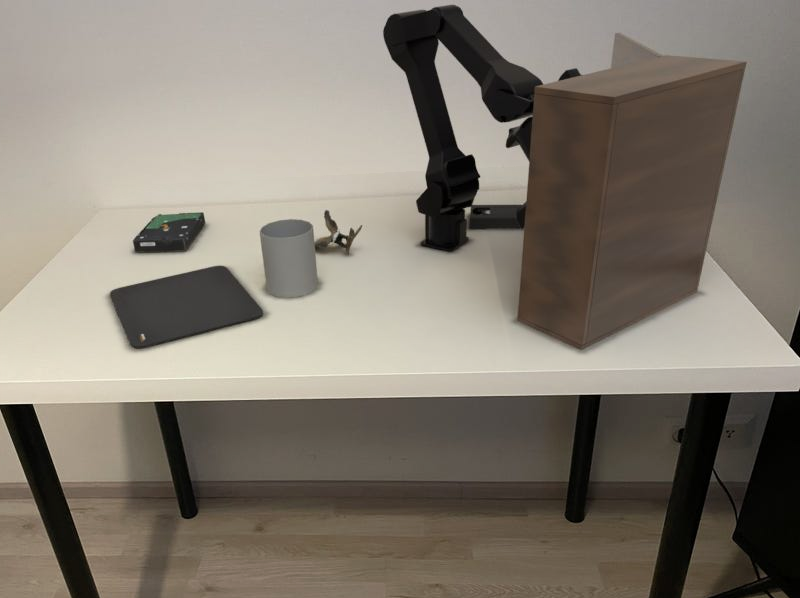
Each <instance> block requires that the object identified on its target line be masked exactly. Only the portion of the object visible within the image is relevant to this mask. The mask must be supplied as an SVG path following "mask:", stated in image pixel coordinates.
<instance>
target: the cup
mask: <svg viewBox="0 0 800 598" xmlns="http://www.w3.org/2000/svg"><path fill="white" fill-rule="evenodd" d="M259 238H260V246H261V254H262V262H263V269H264V270H263V271H264V279H265V287H266V291H267V292H268V293H269V295H271V296H274V297H277V298H286V299H290V298H292V299H293V298H299V297H303V296H306V295H309V294H312V292H314V291H315V290H317V289H318V288H317V287H318V286H319V279H318V267H317V256H316V247H315V243H314V242H315V232H314V225H313V224H312V223H311V222H310V221H308V220H305V219H304V220H303V219H297V218H296V219H293V218H290V219H289V218H288V219H279V220H276V221H272V222H268V223H266V224H265V225H263V226H261V228H260V229H259Z"/></svg>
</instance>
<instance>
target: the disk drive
mask: <svg viewBox="0 0 800 598" xmlns="http://www.w3.org/2000/svg"><path fill="white" fill-rule="evenodd" d="M205 224H206V219H205V213H204V212H201V211H200V212H179V213H171V214H169V213H168V214H162V213H158V214H157V215H155V216H153V217H152V218H151V220H150V221H149V222H147V224H146V225H145V226H144V227H143V228H142V229H141V230H140V231H139V233H137V235H136V236H135V237H134V238H133V239H132V244H133V249H134V252H139V253H160V252H161V253H162V252H180V251H181V252H183V251H187V250H188V249H189V248H190V246H191V244H192V243H193V242H194V240H196V238H197V236H198V235H199V233H200V232H201V231H202V229H203V228H204V226H205Z"/></svg>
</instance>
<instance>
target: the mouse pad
mask: <svg viewBox="0 0 800 598" xmlns="http://www.w3.org/2000/svg"><path fill="white" fill-rule="evenodd" d="M109 295H110V298H111V301H112V304H113V306H114V308H115V311H116V313H117V315H118V317H119V320H120V322H121V325H122V328H123V329H124V332H125V335H126V337H127V339H128V342H129V344H130V346H131V347H132V348H136V349H141V348H148V347H152V346H155V345H158V344H163V343H168V342H170V341H175V340H178V339H183V338H186V337H187V338H188V337H189V336H190V337H191V336H194V335H198V334H202V333H206V332H210V331H214V330H217V329H221V328H225V327H230V326H233V325H237V324H241V323H245V322H249V321H253V320H257V319H259V318H261V317H263V315H264V310H263V309H262V307H261V306H260V305H259V304H258V303H257V301H256V300H255V299H254V298H253V296H251V294H250V293H249V292H248V291H247V289H245V287H244V286H243V285H242V284H241V283H240V282H239V280H238V279H237V278H236V277H235V276H234V274H233V273H232V271H230V270H229V268H228V267H226V266H224V265H214V266H209V267H205V268H201V269H196V270H191V271H188V272H182V273H178V274H174V275H169V276H165V277H159V278H156V279H151V280H147V281H144V282H143V281H142V282H138V283H135V284H130V285H126V286H121V287H118V288H114V289H112V290H111V291H110V293H109Z"/></svg>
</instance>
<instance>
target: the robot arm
mask: <svg viewBox="0 0 800 598" xmlns="http://www.w3.org/2000/svg"><path fill="white" fill-rule="evenodd" d="M382 37H383V40H384V43H385V46H386V48H387V50H388V53H389V55H390V58H391V60H392V61H393V62H394V63H395V64H396V65H397V66H398V67H399V68H400V69H401V70H402V71H403V72H404V74H405V76H406V80H407V84H408V88H409V90H410V94H411V98H412V101H413V105H414V108H415V112H416V115H417V119H418V122H419V126H420V129H421V132H422V137H423V140H424V144H425V147H426V150H427V155H428V162H427V168H426V171H425V185H426V188H425V190H424V191H423V192H422V193H421V194H420V195H419V196H418V198H417V199H415V204H416V208H417V212H418V213H419V214H422V215H424V239H423V240H421V241H420V243H419V244H420V246H422V247H428V248H433V249H436V250H442V251H445V252H446V251H447V252H453V251H454V250H456V249H458V248H459V247H460V246H462V245H463V244H465V243H466V242H468V241H470V240H469V239H470V237H469V236H468V234H467V233H468V219H467V217H466V209H467V208H471V207H472V205H474V204H473V203H474V201H475V198H476V196H477V194H478V191H479V190H480V180H479V179H481V175H480V173H479V171H478V168H477V163H476V158H475V156H474V155H473V154H468V155H466V154H465V153H464V152H463V151H462V150H461V149H460V148H459V146H458V142H457V140H456V136H455V132H454V128H453V124H452V121H451V118H450V114H449V110H448V107H447V102H446V99H445V95H444V92H443V88H442V84H441V81H440V78H439V72H438V70H437V66H436V57H437V53H438V49H439V45H440V43H441V44H442V45H443V47H445V48H446V50H447V51H448V52H449V53H450V54H451V55H452V56H453V57H454V58H455V59H456V61H458V63H459V64H460V65H461V66H462V67H463V68H464V70H466V72H467V73H468V74H469V75H470V76H471V77H472V78H473V79H474V80H475V82H476V83H477V85H478V86H479V88H480V93H481V94H480V95H481V100H482V102H483V104H484V105H485V107H486V108H487V111H489V113H490V115H491V116H492V117H493V119H494V120H495V121H497V122H498V123H502V124H503V123H510V122H511V123H512V122H515V121H518V120H522V119H524V121H522V122H521V124H520V125H517V126H515V127H509V129H508V136H507V138H506V141H505V147H506V149H510V148H513V147H518V146H519V147H520V149H521V151H522V152H523V154H524V156H525V157H526V159H527V161H528V162H529V160H530V147H531V133H532V120H533V107H534V94H535V93H534V92H535V86H540V85H544V84H545V83H543V81H542V80H541V79H540V78H539V77H538V76H536V75H535V74H534V73H532V72H531V71H529V70H528V69H527V68H525V67H524V66H521V65H518V64H515V63H512V62H510V61H508V60H507V59H506V58H505V57H504V56H502V54H501V53H500V52H499V51H498V50H497V49H496V48H495V47H494V46H493V45H492V44H491V43H490V42H489V40H487V38H486V37H485V36H484V35H483V34H482V33H481V32H480V31H479V30H478V29H477V28H476V27H475V26H474V24H473V23H471V21H470V20H469V19H468V18H467V17H466V16H465V15H464V12H463V10H462V8H461V7H460V6H458V5H456V4H447V5H446V4H445V5H440V6H434V7H432V8H431V9H429V10H426V9H416V10H410V11H404V12H397V13H393V14H391V15H389V17H388V18H387V19H386V22H385V25H384V27H383V29H382ZM581 75H582V74H581V73H580V71H579V69H578V67H574V68H570V69H566V70H564V72H563V73H562V74H560V76H559V78H558V80H557V81H560V80H565V79H569V78H573V77H577V76H581ZM521 205H522V206H521V207H519V208H518V209H517V210H516V220H517V222H518V224H519V226H520V227H521V230H522V231H524V227H525V213H526V201H525V202H523V204H521Z"/></svg>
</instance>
